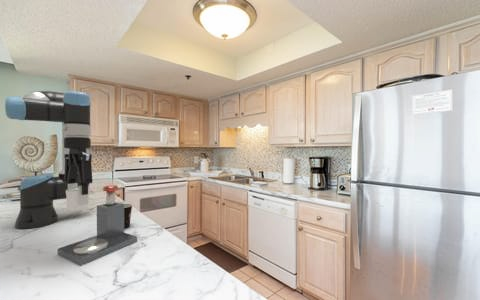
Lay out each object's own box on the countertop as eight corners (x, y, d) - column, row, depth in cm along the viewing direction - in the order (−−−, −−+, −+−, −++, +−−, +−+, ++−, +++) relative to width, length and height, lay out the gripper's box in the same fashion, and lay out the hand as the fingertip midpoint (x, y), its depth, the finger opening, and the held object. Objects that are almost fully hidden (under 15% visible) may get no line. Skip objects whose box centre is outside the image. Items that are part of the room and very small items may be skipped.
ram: (100, 215, 87) (100, 186, 87) (113, 211, 92) (112, 184, 91) (108, 217, 85) (108, 187, 85) (120, 213, 89) (120, 185, 89)
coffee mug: (123, 231, 96) (123, 209, 96) (106, 230, 98) (106, 207, 98) (140, 222, 107) (140, 202, 107) (125, 221, 109) (125, 201, 109)
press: (57, 254, 75) (57, 214, 75) (114, 234, 93) (113, 201, 93) (80, 265, 68) (80, 221, 68) (137, 241, 86) (136, 206, 86)
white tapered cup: (74, 206, 79) (74, 187, 79) (94, 206, 80) (94, 187, 79) (60, 211, 72) (60, 190, 72) (81, 211, 73) (81, 190, 73)
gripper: (51, 137, 77) (52, 202, 77) (79, 135, 68) (80, 209, 68) (75, 138, 84) (76, 197, 84) (104, 136, 74) (105, 203, 74)
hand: (78, 202), depth 76 cm, fingers closed on white tapered cup, 7 cm apart
